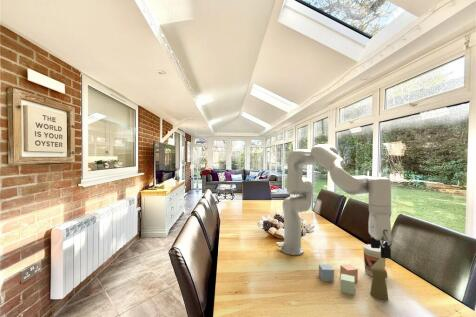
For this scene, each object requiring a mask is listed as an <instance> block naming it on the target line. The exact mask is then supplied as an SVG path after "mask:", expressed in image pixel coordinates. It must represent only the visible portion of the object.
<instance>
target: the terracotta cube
mask: <svg viewBox="0 0 476 317" xmlns="http://www.w3.org/2000/svg"><path fill="white" fill-rule="evenodd" d="M339 267H340V268H339V270H340V271H339V272H340V274H339V275H340V276H339V277H341V274H345V275H350V276H354V281H355V282H356V281H358V280H359V278H358V275H359V274H358V272H359V271H358V270H359V269H358V268H357V267H355V266H354V265H352V264H350V263H347V264H340V266H339Z"/></svg>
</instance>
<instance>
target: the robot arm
mask: <svg viewBox="0 0 476 317" xmlns="http://www.w3.org/2000/svg"><path fill="white" fill-rule="evenodd" d="M338 154H339V151H338V150H337V148H336V147H335V146H333V145H331V144H316V145H314V146H313V147H312V148H311V149H302V148H301V149H300V148H299V149H295V150H292V151H291V152H289V154H288V156H287V158H286V159H287V160H286V164H287V165H286V166H287V174H286V192H287V193H288V194H289V195H291V196H288V197H285V199H283V201H282V203H281V204H282V211H283V221H284V222H283V224H284V225H283V234H284V235H283V236H284V237H283V241H281V242H276V246H278V248H281V252H282V253H284V254H286V255H290V256H300V255H303V254H304V251H305V250H304V248H303V247H302V219H301V217H300V216H299V213H304V212H308V211H309V210H310V209H311V207H312V200H313V199H312V198H313V183H312V181H311V180H310V179H309V178H308V177H303V174H304V173H303V172H304V171H303V168H302V166H308V165H309V166H312V165H314V166H315V165H320V166H322V167H323V168H324V169H325V170H326V171H328V173H329V176H330V178H331V180H332V183H334V184H335V186H337V187H338V188H339V189H340V190H342V191H343V192H344V193H346V194H347V195H352V196H354V195H363V194H365V195H366V194H368V212H369V215H368V228H367V229H368V234H369V235H370V244H371V248H380V246H381V258H386V259H389V260H391V259H392V251H391V249H392V242H393V239H392V226H391V225H392V224H391V223H392V222H391V215H392V184H391V182H392V181H391V179H390V178H388V177H381V176H379V177H378V176H375V177H373V176H368V175H351V174H349V173H348V172H347V171H345V170H344V169H343V167H344V164H345V163H344V162H345V161H344V159H343V158H342V157H340V156H339V155H338ZM301 165H302V166H301Z"/></svg>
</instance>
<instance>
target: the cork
mask: <svg viewBox="0 0 476 317" xmlns="http://www.w3.org/2000/svg"><path fill="white" fill-rule="evenodd" d="M372 274H373V276H372V280H371V288H370V293H369V295H370V296H371V297H372V298H373V299H375V300H377V301H381V302H382V301H383V302H385V301H386V302H387V301H389V293H388V287H387V280H386V278H387V277H388V272H387V269H386V268H385V269H384V268H382V267H377V266H376V267H373V268H372Z"/></svg>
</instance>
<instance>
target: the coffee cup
mask: <svg viewBox="0 0 476 317" xmlns="http://www.w3.org/2000/svg"><path fill="white" fill-rule="evenodd" d="M381 247H382V245H380V248H371V243H370V244H369V243H367V244H364V245H363V247H362V248H363V261H364V262H363V263H364V271H365V273H366V274H367V275H369V276H371V277H373V274H372V268H373V267H376V266H377V267H382V268H384V269H385V270H386V268H385V267H386V259H387V258H381Z"/></svg>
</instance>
